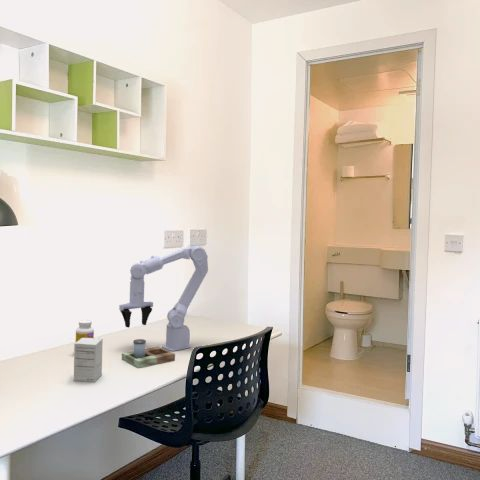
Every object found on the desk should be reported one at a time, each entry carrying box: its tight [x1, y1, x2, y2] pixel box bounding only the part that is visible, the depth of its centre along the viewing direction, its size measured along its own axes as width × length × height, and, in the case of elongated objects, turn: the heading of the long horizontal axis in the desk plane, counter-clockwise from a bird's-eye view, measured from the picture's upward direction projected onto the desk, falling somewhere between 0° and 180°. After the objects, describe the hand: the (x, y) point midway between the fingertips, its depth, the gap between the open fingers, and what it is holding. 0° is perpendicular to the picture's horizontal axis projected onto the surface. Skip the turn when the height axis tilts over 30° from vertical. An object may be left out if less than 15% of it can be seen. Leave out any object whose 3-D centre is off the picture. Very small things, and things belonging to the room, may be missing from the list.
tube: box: [132, 338, 147, 359], centre depth 178 cm, size 5×5×8 cm
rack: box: [121, 346, 176, 369], centre depth 181 cm, size 16×12×2 cm
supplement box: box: [73, 337, 103, 383], centre depth 159 cm, size 7×7×13 cm
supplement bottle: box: [75, 319, 95, 343], centre depth 184 cm, size 7×7×13 cm
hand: (135, 325), depth 194 cm, fingers open, 7 cm apart
